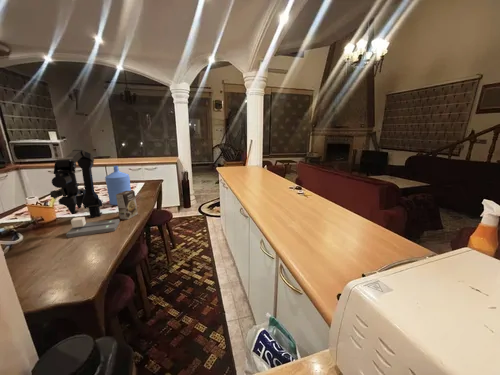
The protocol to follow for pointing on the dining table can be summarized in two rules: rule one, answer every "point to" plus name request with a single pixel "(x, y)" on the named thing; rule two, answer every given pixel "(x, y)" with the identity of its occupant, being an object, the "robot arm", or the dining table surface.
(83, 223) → the fader knob
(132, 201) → the coffee box
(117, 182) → the water jug
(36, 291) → the dining table surface
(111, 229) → the console board
